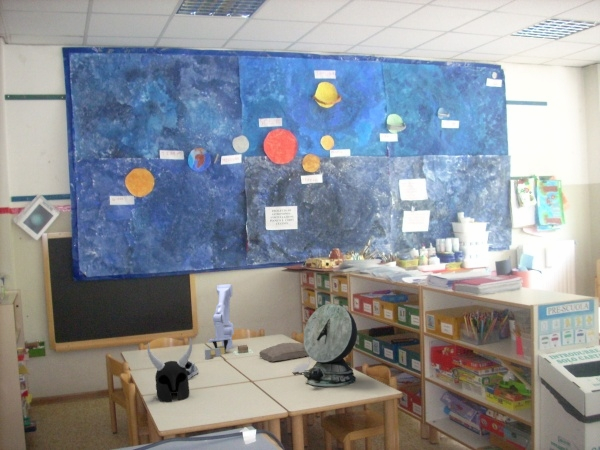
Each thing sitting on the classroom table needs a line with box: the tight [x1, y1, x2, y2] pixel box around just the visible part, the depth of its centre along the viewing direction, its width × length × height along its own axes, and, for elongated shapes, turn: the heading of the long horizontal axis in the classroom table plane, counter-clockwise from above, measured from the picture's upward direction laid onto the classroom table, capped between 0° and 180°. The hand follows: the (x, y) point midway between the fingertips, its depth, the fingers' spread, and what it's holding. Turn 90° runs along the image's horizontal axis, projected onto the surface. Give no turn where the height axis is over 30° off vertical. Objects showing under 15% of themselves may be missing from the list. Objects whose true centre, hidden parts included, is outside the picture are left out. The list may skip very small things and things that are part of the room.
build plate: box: [232, 348, 254, 356], centre depth 406 cm, size 12×12×1 cm
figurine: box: [291, 356, 313, 376], centre depth 345 cm, size 14×4×9 cm, turn 106°
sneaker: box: [185, 360, 199, 381], centre depth 354 cm, size 10×20×10 cm, turn 169°
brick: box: [217, 345, 226, 355], centre depth 406 cm, size 4×4×5 cm
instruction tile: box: [204, 347, 222, 360], centre depth 397 cm, size 2×10×6 cm, turn 104°
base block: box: [237, 344, 249, 354], centre depth 406 cm, size 6×6×4 cm
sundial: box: [303, 303, 358, 387], centre depth 323 cm, size 31×32×40 cm
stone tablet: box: [258, 342, 310, 362], centre depth 389 cm, size 20×8×30 cm
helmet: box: [146, 337, 193, 403], centre depth 317 cm, size 22×19×30 cm
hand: (221, 352), depth 406 cm, fingers closed on brick, 4 cm apart
